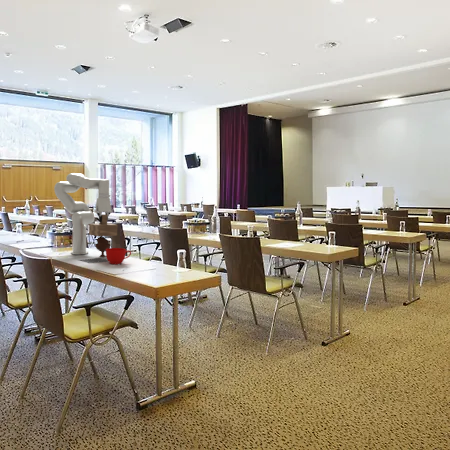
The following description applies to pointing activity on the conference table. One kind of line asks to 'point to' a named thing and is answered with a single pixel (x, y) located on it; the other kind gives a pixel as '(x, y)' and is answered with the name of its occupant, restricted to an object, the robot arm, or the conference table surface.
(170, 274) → the conference table surface
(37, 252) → the conference table surface
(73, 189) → the robot arm
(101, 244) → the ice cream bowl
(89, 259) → the mat
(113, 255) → the ceramic cup
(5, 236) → the conference table surface
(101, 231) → the brown block with knob
